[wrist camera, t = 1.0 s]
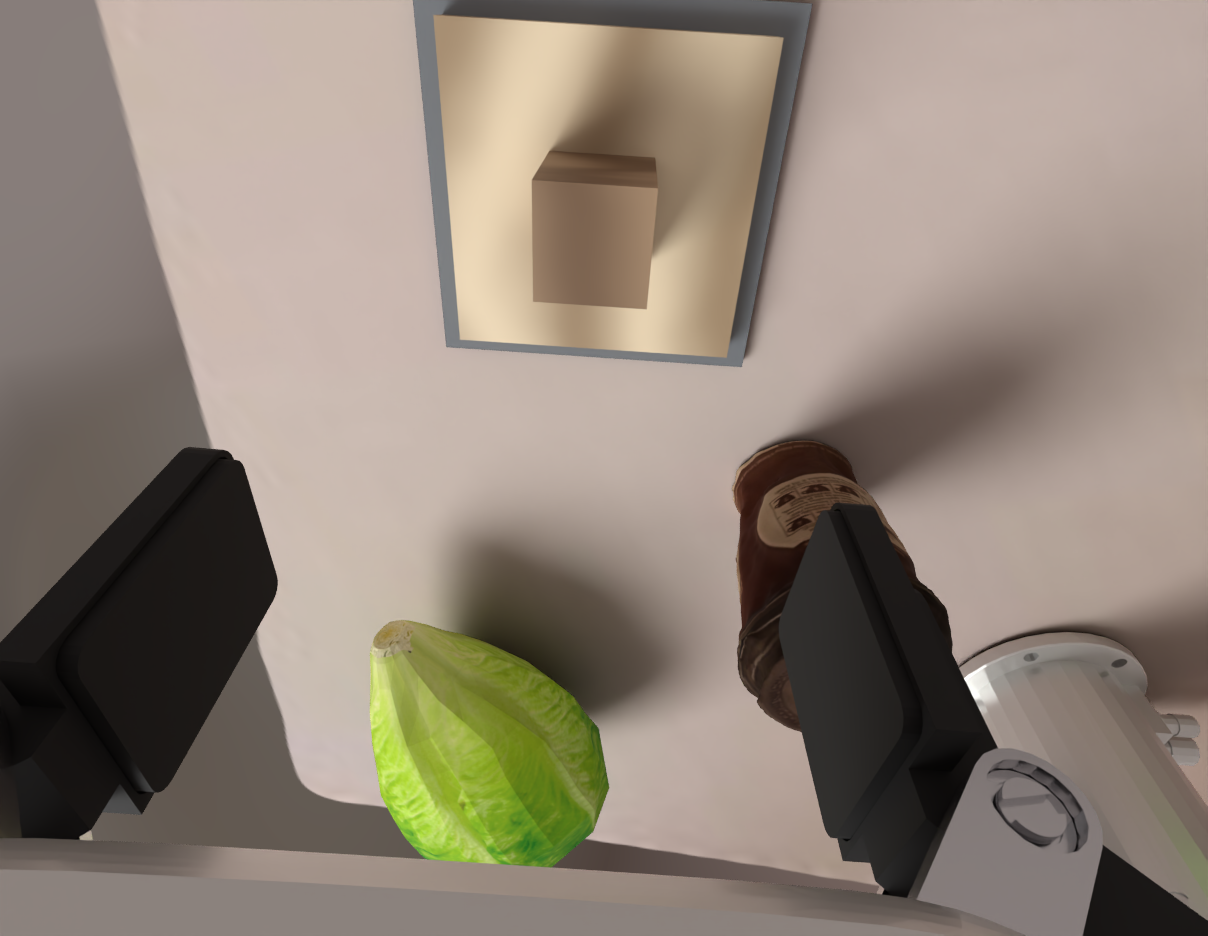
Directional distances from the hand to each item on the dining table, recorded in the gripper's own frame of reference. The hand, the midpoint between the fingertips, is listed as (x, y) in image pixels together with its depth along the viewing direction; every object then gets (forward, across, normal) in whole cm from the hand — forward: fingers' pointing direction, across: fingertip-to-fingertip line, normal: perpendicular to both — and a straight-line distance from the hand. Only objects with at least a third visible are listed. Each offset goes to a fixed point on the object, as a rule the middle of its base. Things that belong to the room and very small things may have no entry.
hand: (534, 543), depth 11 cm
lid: (+20, -1, 0) cm, 20 cm away
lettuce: (+20, +4, +31) cm, 37 cm away
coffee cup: (+20, -12, +13) cm, 27 cm away
